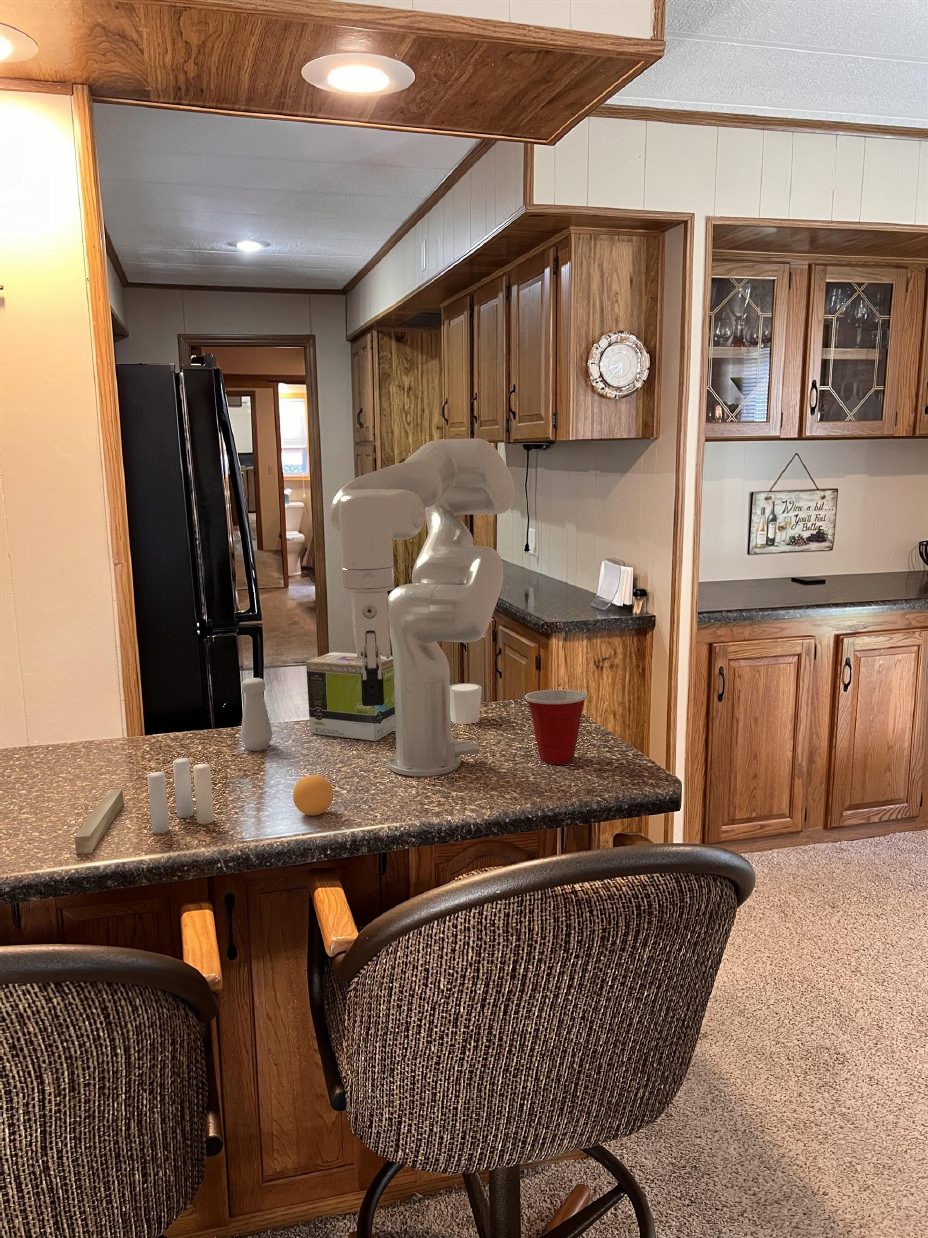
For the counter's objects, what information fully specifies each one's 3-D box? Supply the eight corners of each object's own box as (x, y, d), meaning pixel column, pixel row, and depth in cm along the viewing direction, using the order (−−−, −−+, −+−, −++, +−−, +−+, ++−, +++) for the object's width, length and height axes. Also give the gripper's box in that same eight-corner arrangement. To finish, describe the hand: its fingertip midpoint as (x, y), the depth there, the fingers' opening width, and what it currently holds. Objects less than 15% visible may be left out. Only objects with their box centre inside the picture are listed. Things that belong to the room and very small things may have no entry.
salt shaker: (265, 753, 168) (261, 683, 165) (236, 751, 169) (231, 682, 166) (278, 743, 173) (274, 676, 171) (249, 741, 174) (245, 675, 172)
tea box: (401, 728, 181) (398, 654, 178) (375, 743, 172) (372, 666, 169) (336, 720, 187) (332, 649, 185) (308, 734, 178) (304, 660, 176)
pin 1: (170, 826, 136) (166, 771, 134) (167, 833, 133) (162, 777, 132) (154, 827, 135) (149, 772, 134) (150, 834, 133) (145, 778, 131)
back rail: (123, 804, 145) (122, 789, 144) (91, 853, 127) (89, 836, 127) (110, 804, 144) (109, 789, 144) (76, 854, 127) (74, 837, 126)
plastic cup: (571, 746, 168) (571, 682, 166) (598, 765, 158) (598, 697, 155) (515, 753, 164) (515, 688, 162) (539, 773, 154) (539, 704, 152)
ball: (334, 805, 142) (332, 768, 141) (333, 820, 136) (331, 782, 135) (295, 807, 142) (293, 770, 141) (292, 823, 136) (290, 784, 135)
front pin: (215, 817, 139) (211, 763, 137) (212, 823, 136) (208, 768, 135) (198, 818, 138) (194, 764, 137) (196, 824, 136) (191, 769, 134)
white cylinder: (447, 716, 188) (446, 683, 187) (480, 715, 189) (479, 682, 187) (449, 726, 181) (448, 692, 180) (484, 725, 182) (483, 690, 181)
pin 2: (194, 811, 141) (190, 758, 140) (192, 817, 139) (187, 763, 137) (178, 812, 141) (174, 759, 139) (175, 818, 139) (171, 764, 137)
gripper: (396, 586, 126) (400, 716, 129) (392, 571, 142) (396, 686, 145) (341, 588, 125) (347, 718, 129) (342, 572, 141) (348, 689, 145)
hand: (373, 700), depth 137 cm, fingers open, 3 cm apart
